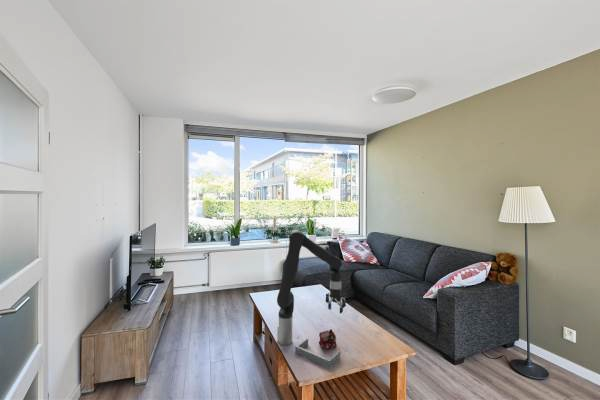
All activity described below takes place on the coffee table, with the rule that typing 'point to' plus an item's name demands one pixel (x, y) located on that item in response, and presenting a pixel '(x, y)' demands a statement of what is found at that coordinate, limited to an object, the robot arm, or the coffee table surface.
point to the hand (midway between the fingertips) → (335, 311)
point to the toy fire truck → (327, 339)
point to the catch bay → (315, 357)
